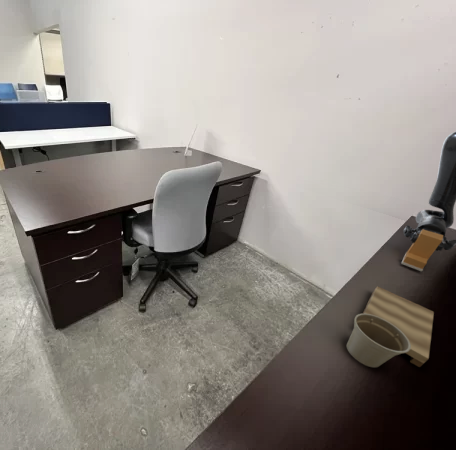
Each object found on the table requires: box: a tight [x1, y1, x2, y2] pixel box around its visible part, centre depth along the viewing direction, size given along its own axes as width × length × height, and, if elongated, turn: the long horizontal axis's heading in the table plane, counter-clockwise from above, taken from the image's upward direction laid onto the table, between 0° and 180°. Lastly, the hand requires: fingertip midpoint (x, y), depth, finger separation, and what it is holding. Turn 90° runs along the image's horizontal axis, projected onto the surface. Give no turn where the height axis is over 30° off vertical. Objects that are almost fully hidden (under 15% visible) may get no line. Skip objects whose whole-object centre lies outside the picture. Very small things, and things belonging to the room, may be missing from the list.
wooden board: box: [362, 286, 435, 368], centre depth 62 cm, size 20×12×4 cm, turn 131°
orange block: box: [400, 229, 443, 272], centre depth 84 cm, size 10×5×11 cm, turn 130°
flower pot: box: [346, 313, 411, 368], centre depth 53 cm, size 9×9×9 cm
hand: (426, 244), depth 82 cm, fingers closed on orange block, 5 cm apart
